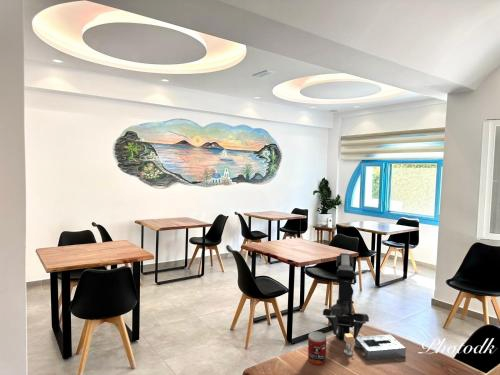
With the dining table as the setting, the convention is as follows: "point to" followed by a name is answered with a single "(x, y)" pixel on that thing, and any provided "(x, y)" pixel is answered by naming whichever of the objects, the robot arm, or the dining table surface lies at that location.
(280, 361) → the dining table surface
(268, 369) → the dining table surface
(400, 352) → the keyhole plate
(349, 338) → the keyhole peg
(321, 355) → the canned food
